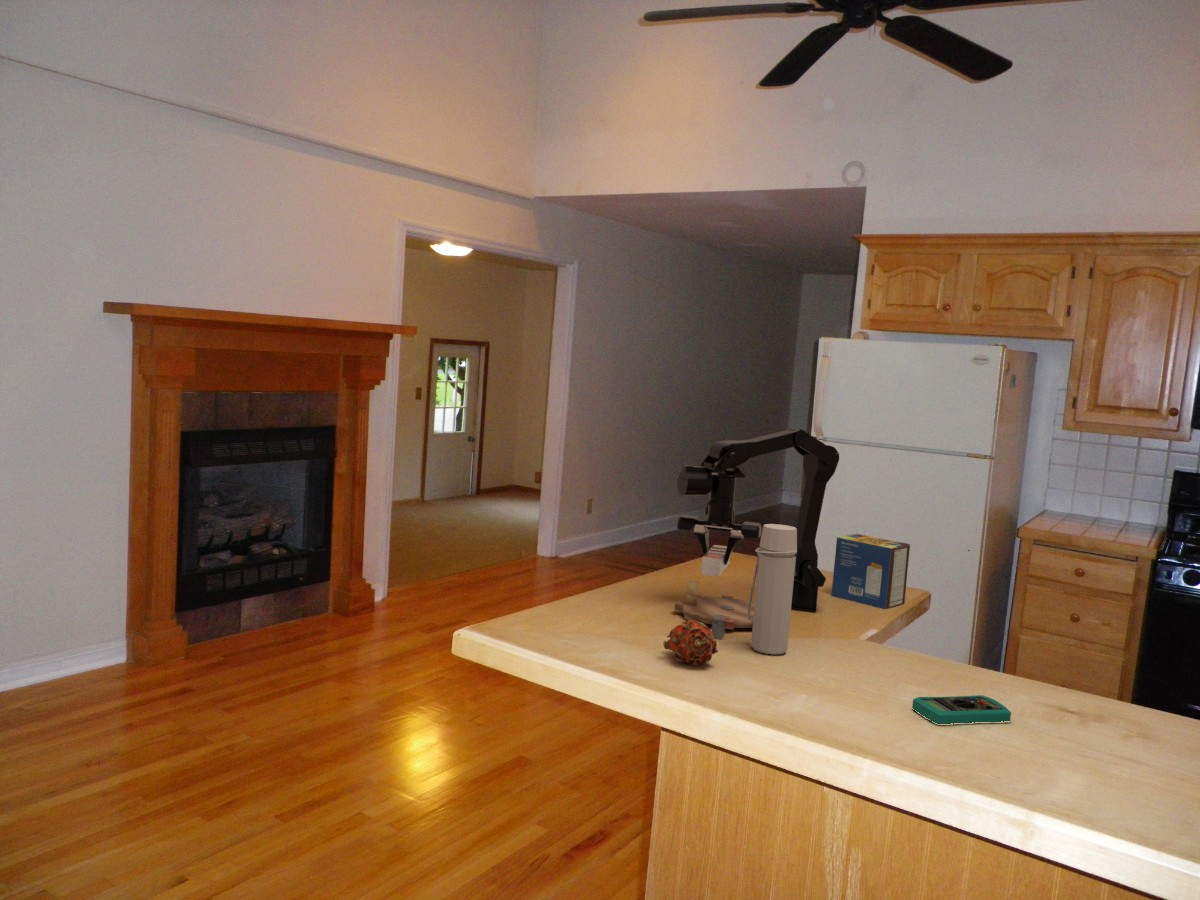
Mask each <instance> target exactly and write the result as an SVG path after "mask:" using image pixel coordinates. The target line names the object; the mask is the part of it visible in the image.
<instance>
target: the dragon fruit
mask: <svg viewBox="0 0 1200 900" xmlns="http://www.w3.org/2000/svg"><path fill="white" fill-rule="evenodd" d="M711 631H712V629H710V628H709V627H708V625H706V623H703V622H700V621H693V620H687V622H686V623H685V624H677V625H675V626H674V627H673V628H672V629H671V630H670V632H669V633H668V634H667V636H666V638H669V639H668V640H667V641H666V640H663V648H664V649H665V650H670V651H672V652H674V653H675V654H674V659H676V660H677V661H678V662H679V663H684V662H686V663H688V664H689V665H692V666H695V665H697V666H696V667H698V665H699V666H700V665H701V664H702V663H709V662H710V661H712V656H713V655H715V654H716V653H718V652H719V650H718V647H717V639H715V638H714V636H713V633H712V632H711ZM680 661H682V662H680Z"/></svg>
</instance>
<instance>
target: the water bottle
mask: <svg viewBox="0 0 1200 900" xmlns="http://www.w3.org/2000/svg"><path fill="white" fill-rule="evenodd" d="M796 528H797V527H795V526H791V525H785V524H778V523H777V524H776V523H766V524H763V527H762V530H761V536H760V542H759V547H756V549H755V552H756V554H757V555H756V556H757V559H756V563H755V569H754V574H753V580H752V584H751V589H750V594H749V599H748V601H749V604H748V620H749V621H751V622H752V621H753V627H752V630H751V631H752V632H751V639H750V640H751V641H750V643H751V644H750V645H751V647H752V648H753V650H754V651H756V652H758V653H760V654H763V653H764V655H768V654H771V656H778V654H779V655H782V654H785V652H787V650H788V647H789V646H788V645H789V635H790V624H791V614H792V613H791V612H792V609H791V605H792V594H793V583H794V572H795V562H796V557H795V556H794V554H796V553H797V529H796ZM754 589H755V596H754ZM753 596H754V597H755V598H754V602H755V607H754V618H753V620H751V617H750V607H751V602H753V601H752V600H753Z"/></svg>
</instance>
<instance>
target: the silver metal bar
mask: <svg viewBox="0 0 1200 900" xmlns="http://www.w3.org/2000/svg"><path fill="white" fill-rule="evenodd" d="M726 549H727V545H717V544H714V545H712V546H711V547H710V548H709V551H708V552H707V553H706V554H705V555H704V554H703V556H702V560H701V570H700V571H701V572H700V574H701V575H702V576H703V575H704V576H711V577H720V576H721V574H723V572H724V571H725V570H726V569H727V567H728V566H729V565H730V562H731V557H730V558H729V560H728V563H727V564H726V565H725V555H726Z"/></svg>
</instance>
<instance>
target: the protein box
mask: <svg viewBox="0 0 1200 900" xmlns="http://www.w3.org/2000/svg"><path fill="white" fill-rule="evenodd" d="M910 548H911V544H910V543H907V542H906V543H905V542H902V541H895V540H890V539H884V538H880V537H874V536H870V535H864V534H859V533H854V534H848V535H839V536H836V543H835V554H834V565H833V575H832V584H831V591H830V594H831V597H836V598H838V599H843V600H847V601H851V602H854V603H859V604H863V605H866V606H871V607H874V608H878V609H882V610H887V609H890V608H894V606H895V607H898V606H902V605H905V602H906V590H907V582H908V569H909V560H910V559H909V558H910V551H911V550H910ZM897 605H898V606H897Z"/></svg>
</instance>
